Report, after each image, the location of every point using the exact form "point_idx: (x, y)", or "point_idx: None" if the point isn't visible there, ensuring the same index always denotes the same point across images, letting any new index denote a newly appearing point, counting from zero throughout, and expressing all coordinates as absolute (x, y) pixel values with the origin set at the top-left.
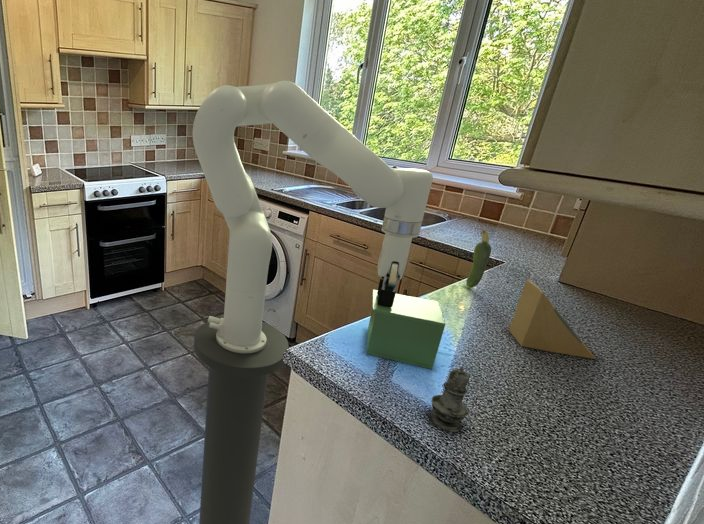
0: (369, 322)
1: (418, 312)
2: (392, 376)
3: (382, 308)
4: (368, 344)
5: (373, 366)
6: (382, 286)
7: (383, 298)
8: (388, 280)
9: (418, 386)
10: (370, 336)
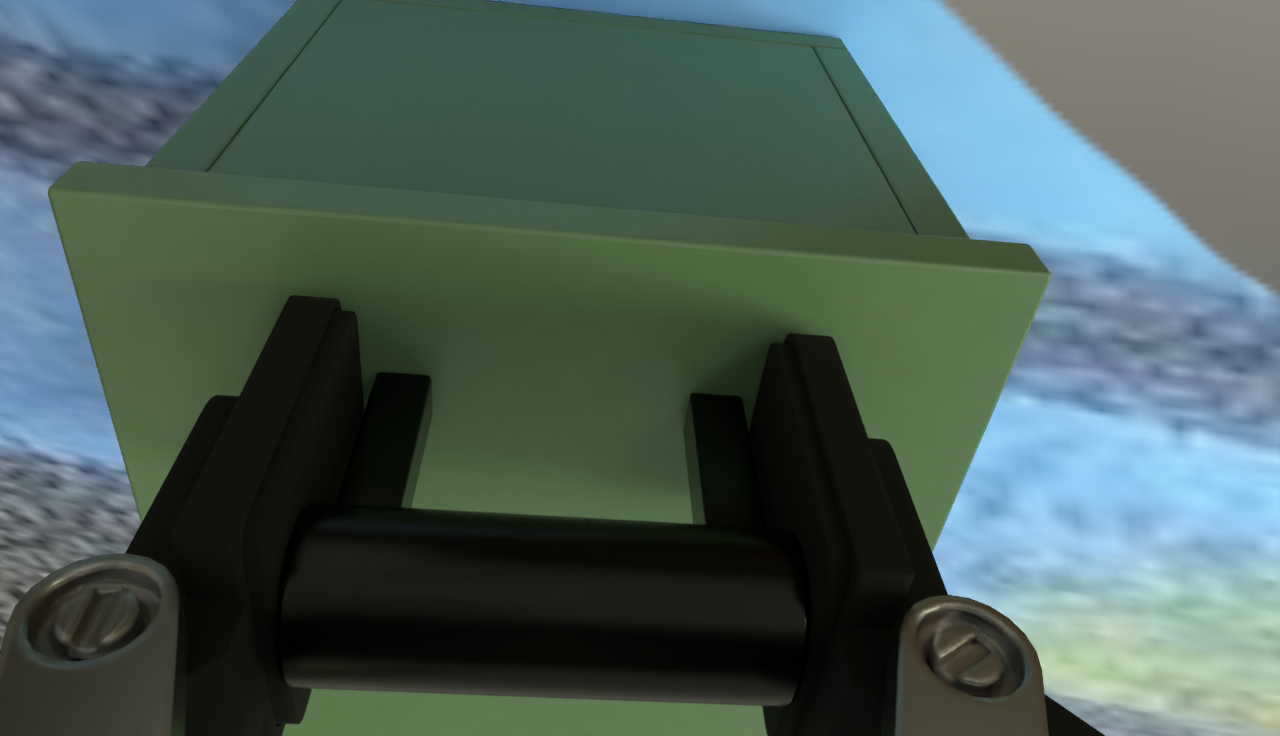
0: (834, 77)
1: (373, 708)
2: (49, 180)
3: (195, 351)
4: (316, 15)
5: (104, 29)
6: (161, 620)
7: (188, 462)
8: (822, 702)
9: (45, 343)
10: (253, 53)
